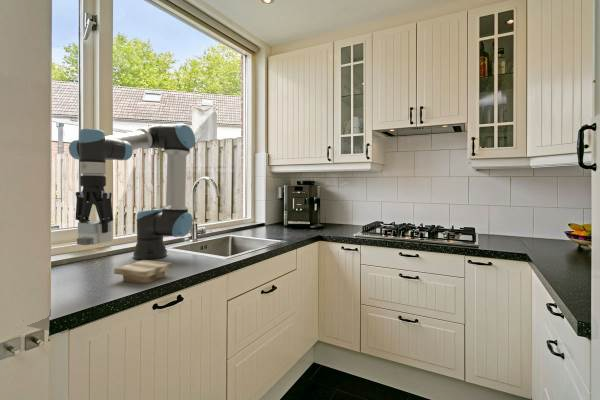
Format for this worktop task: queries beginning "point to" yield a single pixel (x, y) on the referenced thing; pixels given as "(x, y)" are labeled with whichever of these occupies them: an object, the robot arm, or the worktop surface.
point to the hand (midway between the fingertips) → (94, 241)
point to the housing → (91, 233)
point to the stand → (143, 271)
